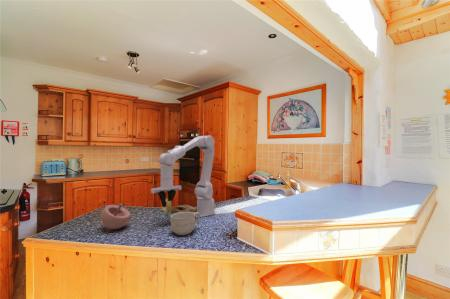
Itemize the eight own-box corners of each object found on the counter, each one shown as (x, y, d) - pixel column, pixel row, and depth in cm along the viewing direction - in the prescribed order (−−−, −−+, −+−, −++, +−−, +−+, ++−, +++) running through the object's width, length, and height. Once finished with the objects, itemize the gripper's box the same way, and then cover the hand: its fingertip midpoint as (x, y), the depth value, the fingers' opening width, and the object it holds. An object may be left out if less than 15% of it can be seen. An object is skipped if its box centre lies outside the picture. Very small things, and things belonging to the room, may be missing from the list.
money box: (186, 216, 112) (186, 204, 112) (196, 221, 104) (196, 208, 104) (170, 219, 106) (170, 207, 106) (179, 225, 98) (180, 211, 98)
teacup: (173, 239, 83) (173, 219, 83) (167, 230, 92) (167, 212, 92) (205, 233, 89) (206, 215, 89) (197, 225, 99) (197, 208, 99)
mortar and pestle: (123, 233, 88) (124, 206, 88) (94, 234, 87) (95, 207, 88) (134, 223, 100) (134, 200, 100) (108, 224, 99) (109, 200, 100)
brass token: (166, 208, 102) (166, 198, 102) (171, 211, 98) (171, 200, 98) (162, 209, 101) (162, 199, 101) (166, 212, 97) (166, 201, 97)
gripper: (176, 176, 107) (176, 202, 107) (148, 178, 98) (148, 207, 98) (183, 177, 102) (183, 205, 102) (154, 180, 92) (154, 210, 92)
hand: (166, 206), depth 99 cm, fingers closed on brass token, 2 cm apart
